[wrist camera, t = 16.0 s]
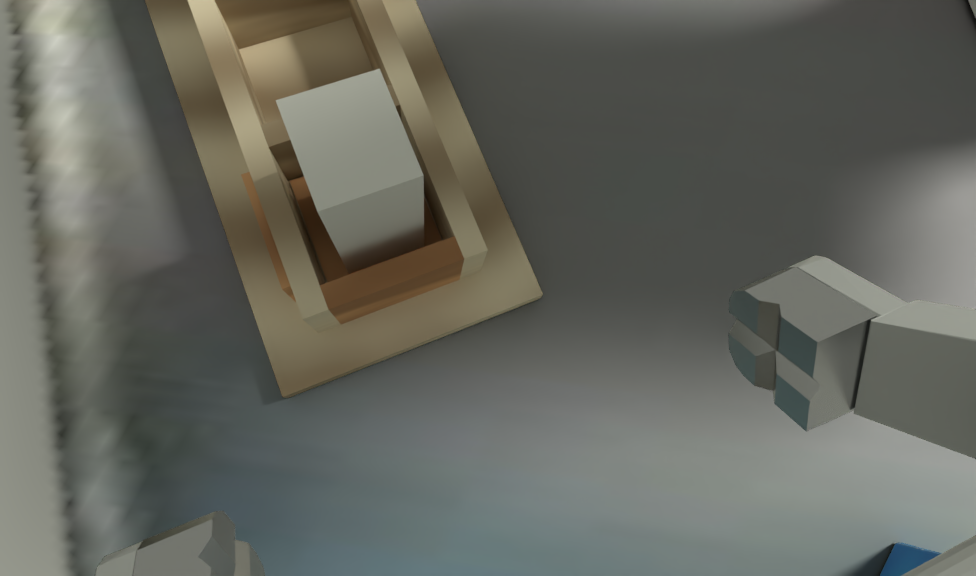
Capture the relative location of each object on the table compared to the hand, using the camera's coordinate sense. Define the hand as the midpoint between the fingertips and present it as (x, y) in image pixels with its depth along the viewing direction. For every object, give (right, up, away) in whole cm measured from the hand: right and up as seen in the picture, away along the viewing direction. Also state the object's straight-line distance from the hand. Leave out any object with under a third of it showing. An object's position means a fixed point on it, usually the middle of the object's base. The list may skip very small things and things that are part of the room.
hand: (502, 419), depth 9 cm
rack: (-8, +11, +20) cm, 25 cm away
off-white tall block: (-5, +5, +18) cm, 20 cm away
